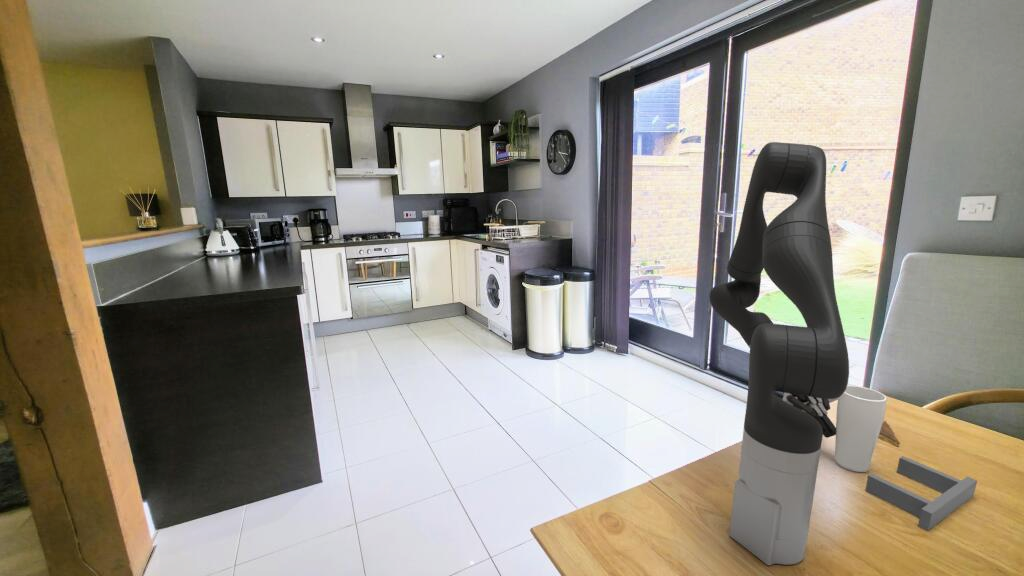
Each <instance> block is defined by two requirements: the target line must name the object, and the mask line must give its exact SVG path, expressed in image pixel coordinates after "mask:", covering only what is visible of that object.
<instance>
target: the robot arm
mask: <svg viewBox="0 0 1024 576" xmlns="http://www.w3.org/2000/svg"><path fill="white" fill-rule="evenodd" d="M826 178H827V158H826V153H825V151H824V149H822V148H821V147H819V146H817V145H812V144H802V143H793V142H777V141H775V142H774V141H773V142H768V143H766V144H765V145H764V146H763V147H762V149H760V151H759V152H758V155H757V157H756V159H755V162H754V166H753V169H752V172H751V176H750V180H749V185H748V188H747V193H746V197H745V201H744V205H743V211H742V215H741V221H740V224H739V225H740V226H739V230H738V233H737V237H736V240H735V243H734V246H733V248H732V252H731V254H730V257H729V259H728V262H727V266H726V271H727V274H728V276H730V278H731V279H734V280H732V281H728V282H724V283H719V284H717V285H715V286H713V287H712V288H711V290H710V291H709V295H708V296H709V297H708V298H709V303H710V305H711V307H712V309H713V310H714V311H715V312H716V313H717V315H719V316H720V317H721V318H722V319H723V320H724V321H725V322H727V323H728V324H729V325H730V327H732V328H734V329H735V331H737V332H738V333H739V335H740V337H741V338H742V339H743V340H744V342H745V344H746V345H747V346H748V348H749V355H748V356H749V357H748V361H749V363H748V384H747V385H748V387H747V398H746V406H745V414H744V423H743V432H742V442H741V448H740V449H741V451H740V459H739V465H738V466H739V469H738V475H737V479H736V480H735V482H734V486H733V487H734V488H733V496H732V506H731V514H730V515H731V516H730V525H729V534H728V535H729V537H731V538H732V539H733V540H734V541H735V542H737V543H739V545H740V546H742V547H744V548H745V549H746V550H747V551H749V552H750V553H751V554H753V555H754V556H755V557H757V559H759V560H760V561H762V562H763V563H764V564H766V565H767V566H772V565H775V564H778V565H783V566H784V565H786V566H787V565H796V564H799V563H800V562H801V561H803V559H804V558H805V557H806V556H805V555H806V550H807V542H808V537H809V531H810V530H809V529H810V522H811V516H812V510H813V503H814V502H813V501H814V497H815V489H816V482H817V477H818V476H817V475H818V469H819V463H820V456H821V451H822V445H823V444H822V443H823V437H824V438H826V439H828V438H830V437H833V436H836V425H835V424H834V423H833V421H832V420H831V419H830V418H829V415H828V414H829V413H828V411H830V410H831V405H830V400H834V399H838V397H840V396H841V395H842V394H843V393H844V392H845V390H846V387H847V386H848V385H849V377H850V359H849V352H848V346H847V342H846V336H845V332H844V328H843V323H842V318H841V314H840V310H839V305H838V302H837V297H836V296H837V295H836V289H835V280H834V263H833V261H834V260H833V247H832V241H831V240H832V239H831V234H830V229H829V224H828V223H829V220H828V213H827V211H828V210H827V202H826V193H827V192H826V185H827V179H826ZM766 193H773V194H782V195H791V196H795V198H796V200H795V201H793V203H792V204H790V205H788V207H786V208H785V209H784V210H782V211H781V212H780V213H778V215H776V216H775V217H774V218H773V219H772V220H771V222H769V224H767V221H766V217H765V211H764V200H765V199H764V198H765V194H766ZM763 270H764V272H765V274H766V275H767V276H768V278H769V279H770V280H771V282H772V283H773V284H774V285H775V286H776V288H778V289H779V290H780V291H781V292H782V293H783V294H784V295H785V296H786V297H787V299H789V300H790V302H791V303H792V304H793V305H794V306H795V307H796V308H797V310H798V311H799V312H800V314H801V316H802V318H803V320H804V322H805V325H806V326H799V325H788V324H781V323H780V324H778V323H774V322H773V321H772V319H771V318H770V317H769V315H767V314H766V313H764V312H761V311H760V312H759V311H751V310H749V309H747V308H750V307H751V306H753V305H755V303H756V302H757V300H758V299H759V296H760V292H761V281H762V273H763ZM775 392H780V393H782V394H783V397H779V396H778V395H777V394H776V393H775Z"/></svg>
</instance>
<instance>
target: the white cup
mask: <svg viewBox="0 0 1024 576" xmlns="http://www.w3.org/2000/svg"><path fill="white" fill-rule="evenodd" d="M887 399H888V397H887V396H886V395H885V394H883V393H882V392H880V391H878V390H875V389H872V388H869V387H864V386H859V385H849V384H847V387H846V390H845V392H844V393H843V394H842V395H841V396H840V397H838V398H837V405H836V420H835V421H836V422H835V427H836V435H835V446H834V454H833V459H834V461H835V462H836V464H838V465H839V466H840V467H842V468H844V469H846V470H848V471H852V472H856V473H866V472H869V470H870V469H871V468H870V467H871V464H872V460H873V459H872V458H873V456H874V452H875V449H876V445H877V442H878V439H879V438H878V436H879V433H880V430H881V427H882V424H883V421H885V420H884V419H885V415H886V409H887V401H888V400H887Z"/></svg>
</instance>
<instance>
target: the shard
mask: <svg viewBox="0 0 1024 576" xmlns="http://www.w3.org/2000/svg"><path fill="white" fill-rule="evenodd" d="M878 439H879V440H881V441H883V442H886V443H888V444H890V445H893V446H895V447H899V445H901V443H900V442H899V439H898V438H897V437H896V435H895V432H894V431H893V429H892V427H891V426H890V425H889V424H888V422H887V420H883V424H882V427H881V430H880V433H879V436H878Z"/></svg>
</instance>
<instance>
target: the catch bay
mask: <svg viewBox="0 0 1024 576" xmlns="http://www.w3.org/2000/svg"><path fill="white" fill-rule="evenodd" d="M896 473H897V474H899V475H902V476H905V477H907V478H909V479H910V480H914V481H916V482H917V483H921V484H922V485H924V486H927V487H929V488H932V489H934V490H935V491H938V492H940V493H941V494H939V496H937V497H936V498H935V499H933V500H930V499H927V498H925V497H923V496H921V495H919V494H917V493H915V492H913V491H910V490H907V489H906V488H903V487H901V486H900V485H897V484H896V483H893V482H891V481H888V480H887V479H885V478H883V477H880V476H879V475H875V474H874V473H870V474H868V475H867V481H866V485H865V490H864V491H865V492H867V493H869V494H871V495H873V496H875V497H878V498H879V499H881V500H883V501H885V502H887V503H889V504H891V505H893V506H894V507H897V508H899V509H901V510H902V511H905V512H907V513H909V514H911V515H913V516H915V517H917V518H919V519H918V523H917V526H918V527H919V528H922V529H924V530H926V531H930V530H931V529H932V528H934V527H936V525H938V524H940V522H942V521H943V520H945V519H946V518H948V517H949V516H950V514H953V513H954V512H955V511H956V510H957V509H959V508H960V507H962V506H963V505H964V504H965V503H967V502H968V501H969V500H970V499H972V498H973V497H974V496H975V492H976V487H977V483H978V480H976V479H974V478H972V477H970V476H966V477H964V478H963V479H959V478H956V477H954V476H952V475H950V474H947V473H944V472H942V471H940V470H937V469H935V468H932V467H930V466H928V465H925V464H923V463H920V462H919V461H916V460H913V459H911V458H908V457H907V456H904V455H902V456H900V457H899V459H898V464H897V468H896Z"/></svg>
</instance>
